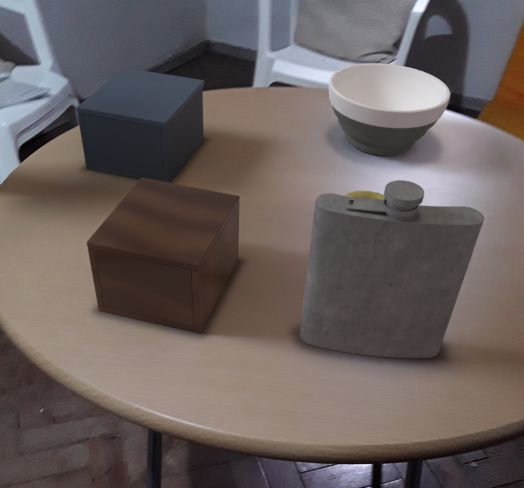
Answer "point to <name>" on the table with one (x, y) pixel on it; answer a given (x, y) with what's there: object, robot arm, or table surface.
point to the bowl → (386, 105)
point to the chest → (142, 143)
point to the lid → (142, 97)
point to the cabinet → (166, 253)
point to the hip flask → (385, 272)
